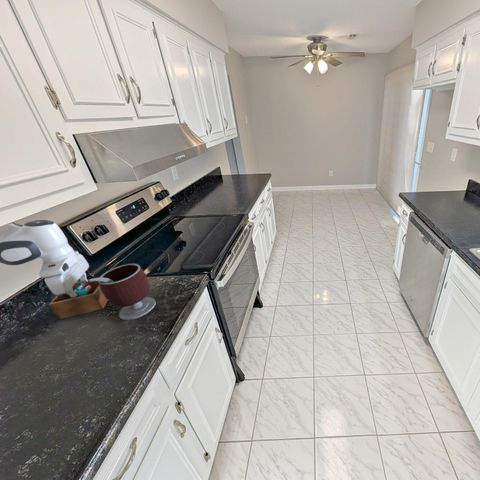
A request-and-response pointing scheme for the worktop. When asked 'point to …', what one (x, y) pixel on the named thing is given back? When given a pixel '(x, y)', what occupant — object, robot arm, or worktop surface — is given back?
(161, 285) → the worktop surface
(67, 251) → the robot arm
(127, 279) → the mate gourd
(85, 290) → the anatomy model
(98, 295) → the crate
